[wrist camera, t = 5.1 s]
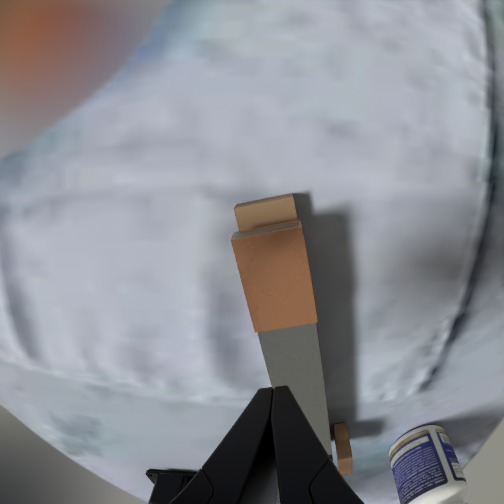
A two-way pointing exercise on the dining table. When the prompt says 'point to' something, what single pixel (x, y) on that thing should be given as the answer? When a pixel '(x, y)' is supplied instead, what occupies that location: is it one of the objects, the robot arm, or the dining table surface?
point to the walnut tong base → (276, 213)
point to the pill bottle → (427, 468)
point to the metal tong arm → (285, 314)
